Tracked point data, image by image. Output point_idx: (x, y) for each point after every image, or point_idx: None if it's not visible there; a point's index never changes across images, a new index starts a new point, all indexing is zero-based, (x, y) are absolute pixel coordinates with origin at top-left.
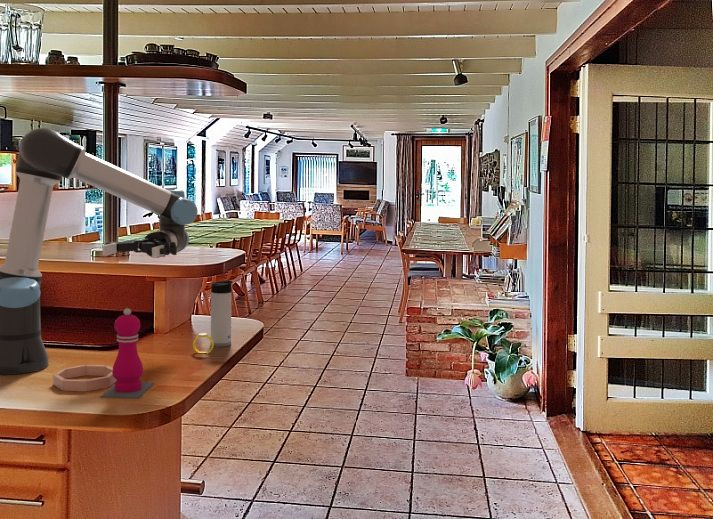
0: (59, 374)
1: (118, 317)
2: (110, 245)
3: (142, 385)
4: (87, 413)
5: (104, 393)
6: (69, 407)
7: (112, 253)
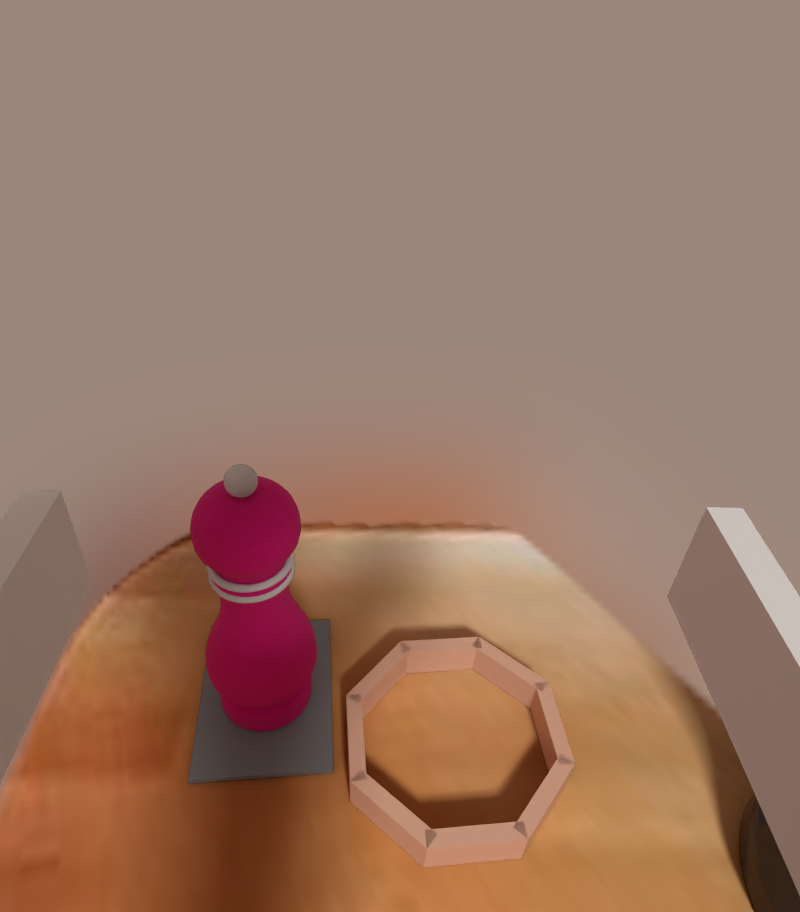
0: (539, 702)
1: (278, 488)
2: (769, 633)
3: (225, 732)
4: (312, 528)
5: (326, 637)
6: (374, 552)
7: (749, 767)
